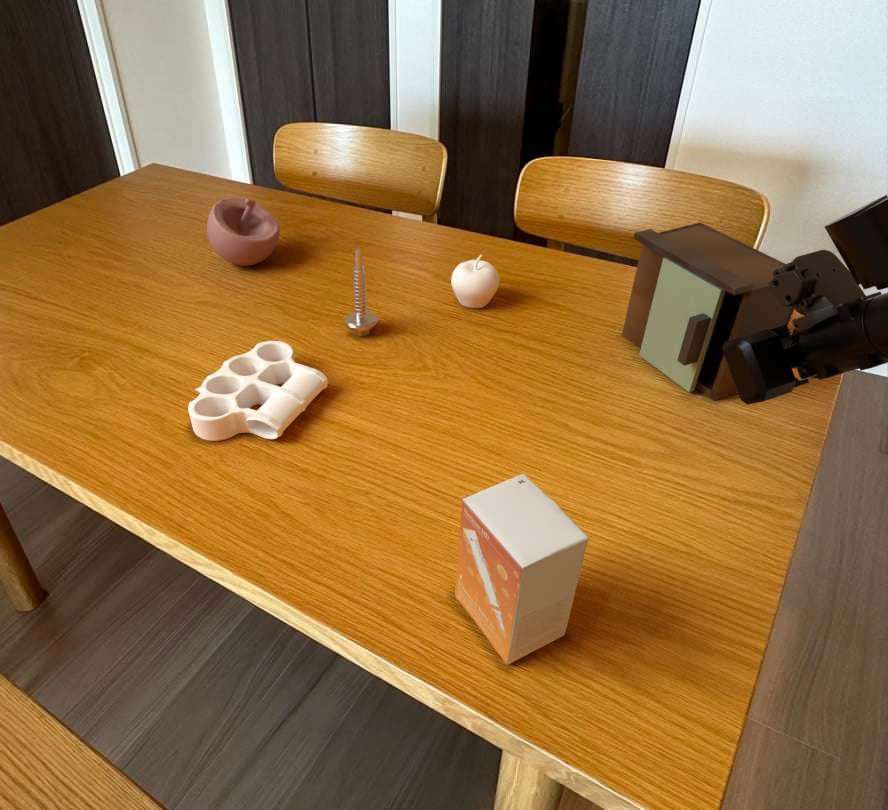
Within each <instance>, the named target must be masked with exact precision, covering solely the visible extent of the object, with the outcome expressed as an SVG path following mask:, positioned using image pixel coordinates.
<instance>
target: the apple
mask: <svg viewBox="0 0 888 810" xmlns="http://www.w3.org/2000/svg"><path fill="white" fill-rule="evenodd" d="M482 257H483V254H479V256H478V257H477V258H476V259H470V260H465V261H463V262H460V263H459V264H458V265H457V266H456V267H455V268H454V270H453V272H452V274H451V276H450V283H451V288H452V290H453V292H454V295H455V297H456V299H457V301H458V302H459V304H460V305H461V306H463V307H465V308H469V309H482V308H484V307H486V306H487V305H488V304H489V303H490V302H491V300H492V299H493V297H494V295H495V294H496V292H497V291H498V289H499V286H500V275H499V271H498V269H496V267H494V266H493V264H492V263H490V262H489V261H486V260H481V259H482Z"/></svg>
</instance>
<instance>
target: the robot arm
mask: <svg viewBox="0 0 888 810" xmlns="http://www.w3.org/2000/svg"><path fill="white" fill-rule="evenodd" d="M824 229H825V231H826V233H827V234H828V236H829V238H830V239H831V242H832V243H833V244H834V247H835V248H836V251H837V252H838V253H839V255H840V257H841V259H842V260H843V262H842V261H841V260H840V259H839V257H838V256H837V254H835V253H834V252H832V251H830V250H828V249H820V250H816V251H813V252H809V253H806V254H805V253H804V254H802V255H801V254H800V255H798V256H796V257H795V258H793V259H792V260H791V262H787V263H785V264H786V265H785V266H784V267H782V268H778V269H775V270H774V271H773V276H774V279H773V280H772V281H771V282H770V283H769V289H770V291H771V292H772V294H773V295H774V296H775V297H776V299H777V300H778V301H779V302H780V304H781V305H782V306H784V307H790V306H792V307H793V308H794V311H796V312H797V314H799V315H801V316H800V317H797V318H794V319H791V322H792V325H793V327H794V328H793V331H792V332H791V331H790V328H789V324H788V325H787V324H786V325H783V326H779V327H776V328H773V329H764V330H761V331H758V332H755V333H751V334H748V335H745V336H741V337H738V338H735V339H732V340H730V341H727V342H724V345H723V347H722V351H723V354H724V357H725V359H726V362H727V365H728V367H729V370H730V373H731V375H732V378H733V381H734V383H735V386H736V389H737V391H738V393H737V394H738V397H739V400H740V401H741V402H742V403H743V404H746V405H747V406H748V405H753V404H757V403H762V402H766V401H770V400H773V399H775V398H777V397H781V396H783V395H787V394H789V393H790V394H791V393H792V392H793V390H794V388H797V387H800V386H804V385H807V384H809V383H810V380H809V379H817V380H818V381H821V380H827V379H830V378H833V377H836V376H838V375H842V374H844V373H847V372H848V373H849V372H852V371H855V370H859V371H860V372H861V371H866V370H869V369H873V368H876V367H879V366H882V365H885V364H887V363H888V291H887V292H884V293H882V291H881V290H885V289H888V194H885V195H882V196H881V197H879V198H876V199H874V200H873V201H871V202H868V203H867V204H865V205H862V206H860V207H859V208H857V209H854V210H852V211H850V212H848V213H847V214H844V215H843V216H841V217H839V218H837V219H835V220H833V221H831V222H829V223H827V224H826V225H824ZM860 285H861V287H862V288H863V289H862V288H861V287H860ZM874 287H875V288H876V290H877V291H878V292H874V293H870V294H867V295H866V293H865V292H864V291H863V290H868V289H872V288H874Z"/></svg>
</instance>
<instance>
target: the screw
mask: <svg viewBox="0 0 888 810" xmlns="http://www.w3.org/2000/svg"><path fill="white" fill-rule="evenodd" d="M353 253H354V254H353V255H354V257H353V265H352V274H351V275H352V280H353V281H352V284H353V285H352V291H353V294H352V295H353V306H354V308H353V309H354V311H351V312H349V313H348V314H347V315H345V317H344V320H343V322H344V325H345V327H346V328H348V329H350V330H352V335H354V336H357V337H360V338H362V337H366V336H370V333H371V331H372V329H373V328H374V327H376V326H377V325H378V324H379V317H378V314H376V313H375V312H372V311H370V310H368V305H367V304H368V301H367V300H368V298H367V295H368V294H367V291H368V290H367V278H366V277H367V274H366V272H367V271H366V270H365V269H366V266H365V265H364V259H363V254H362V251H361V249H359V248H357V249H354V250H353Z"/></svg>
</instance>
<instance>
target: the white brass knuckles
mask: <svg viewBox="0 0 888 810" xmlns="http://www.w3.org/2000/svg"><path fill="white" fill-rule="evenodd" d="M328 384H329V379H328V377H327V375H325V374H324V373H323V372H321V371H320V370H319V369H316V368H314V367H310V366H308V365H304V364H302V363H298V362H296V360H295V351H294V349H293V348H292V346H291V345H289V344H288V343H286V342H283V341H280V340H267V341H262V342H259V343H257V344H255V346H254V347H253V348H252V349H251V350H248V352H245V353H242V354H238V355H234V356H232V357H230V358H229V359H226V360H225V361H223V363H222V366H221V367H220V368H218V370H217V371H215V372H214V373H211V374H209V375H207V376H206V377H205V379H204V381H203V382H202V384H201V385H200V386H199V387H197V388H194V390H195V391H196V392H198V393H199V395H197V397H196V398H194V399H193V400H191V401H190V402H189V403H188V407H187V409H188V410H187V411H188V416H189V418H190V422H191V426H192V430H193V432H194V434H195V435H196V436H197V437H198V438H199V439H202V440H204V441H208V442H209V441H210V442H218V441H225V440H227V439H230V438H233V437H234V436H236V435H238V434H245V433H247V434H248V433H249V434H251V435H255V436H258V437H261V438H263V439H267V440H275V439H277V438H280V437H281V436H282V435H283V434H284V431H286V429H287V428H288V427H289V426H290V425H291V424H292V423H293V422H294V421H295V420H296V418H297V417H299V415H301V413H304V412H305V411H306V410H307V407H308V406H309V405H310V404H311V403H312V401H313V400H315V398H316V397H318V395H319V394H320V393H321V392H322V391H323V390H325V389H326V388H328ZM279 385H282V386H279ZM256 405H261V406H260V407H259V408H258V409H257V410H256V409H252V408H253V407H254V406H256Z"/></svg>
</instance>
